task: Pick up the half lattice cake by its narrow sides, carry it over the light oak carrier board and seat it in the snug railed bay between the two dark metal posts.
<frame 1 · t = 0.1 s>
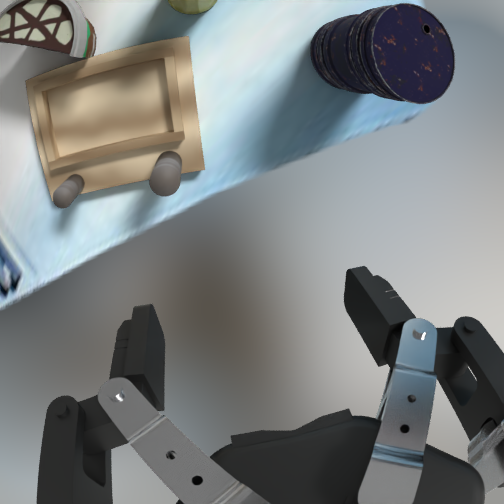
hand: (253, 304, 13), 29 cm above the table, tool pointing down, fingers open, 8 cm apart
carrier board: (113, 117, 34), on the table
storage jar: (345, 54, 34), on the table
half lattice cake: (70, 27, 27), on the table
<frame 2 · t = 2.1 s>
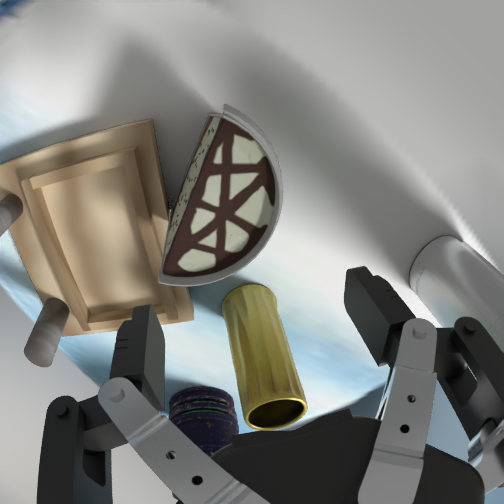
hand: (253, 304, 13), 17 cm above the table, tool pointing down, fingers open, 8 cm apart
carrier board: (94, 239, 29), on the table
storage jar: (201, 403, 45), on the table
vase: (248, 304, 36), on the table
half lattice cake: (221, 174, 28), on the table
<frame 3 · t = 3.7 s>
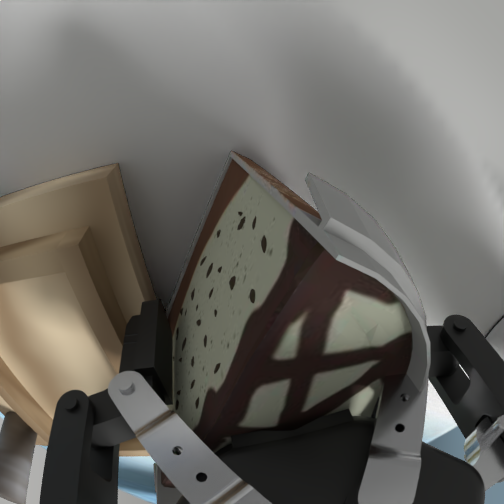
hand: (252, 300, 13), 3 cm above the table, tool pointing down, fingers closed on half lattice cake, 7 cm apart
carrier board: (52, 349, 17), on the table
half lattice cake: (251, 260, 16), on the table, touching gripper
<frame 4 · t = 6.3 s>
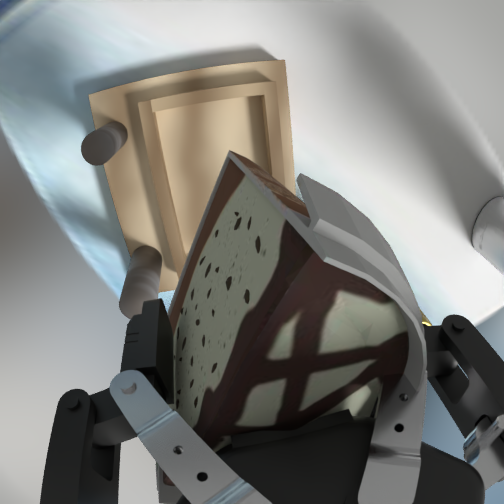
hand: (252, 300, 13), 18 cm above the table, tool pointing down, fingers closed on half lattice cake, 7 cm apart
carrier board: (202, 180, 29), on the table
half lattice cake: (251, 258, 16), point 15 cm above the table, touching gripper
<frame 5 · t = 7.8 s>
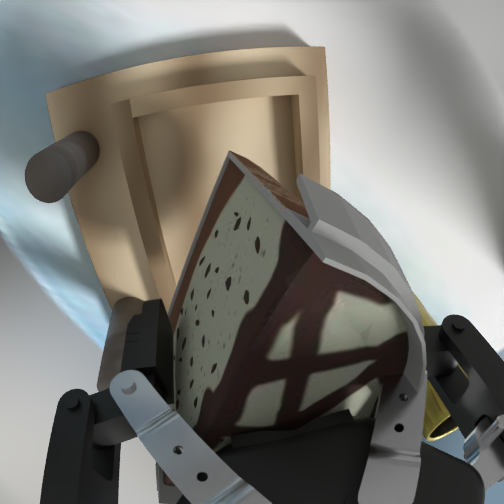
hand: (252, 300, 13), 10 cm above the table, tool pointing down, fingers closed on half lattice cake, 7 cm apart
carrier board: (204, 210, 22), on the table
vase: (376, 296, 29), on the table
half lattice cake: (251, 259, 16), point 7 cm above the table, touching gripper
when the fingers open (7 cm above the table, at t = 9.1 s): half lattice cake stays where it is, resting on carrier board.
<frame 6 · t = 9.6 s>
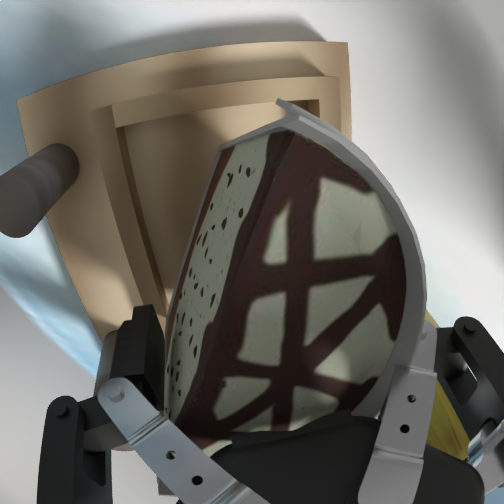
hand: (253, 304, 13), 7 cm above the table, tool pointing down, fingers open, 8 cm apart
carrier board: (204, 232, 19), on the table
vase: (390, 318, 26), on the table
half lattice cake: (247, 253, 17), point 3 cm above the table, touching carrier board, gripper
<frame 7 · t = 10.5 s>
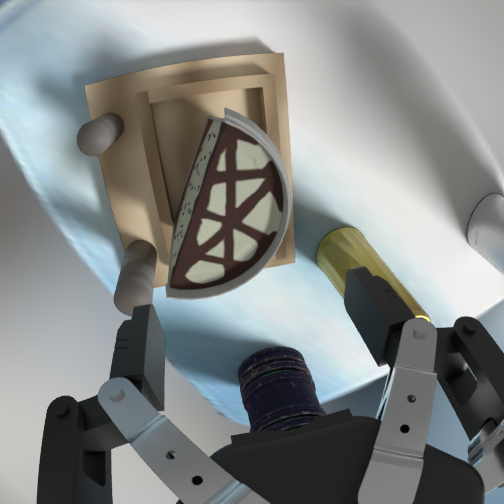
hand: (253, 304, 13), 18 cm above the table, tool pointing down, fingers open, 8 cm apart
carrier board: (198, 173, 28), on the table
storage jar: (271, 368, 44), on the table
vase: (340, 249, 36), on the table
half lattice cake: (224, 177, 27), point 2 cm above the table, touching carrier board
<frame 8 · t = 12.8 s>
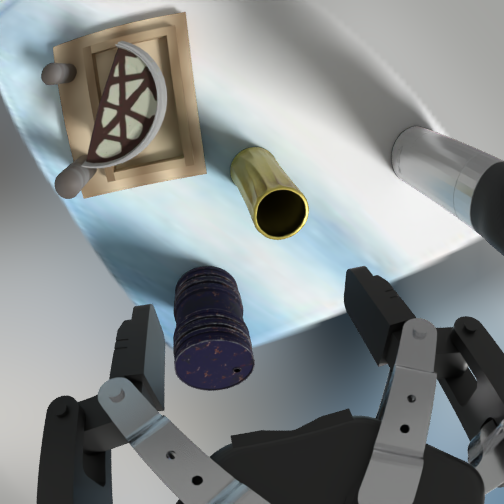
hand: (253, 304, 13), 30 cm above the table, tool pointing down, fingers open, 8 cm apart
carrier board: (129, 104, 34), on the table
storage jar: (206, 291, 50), on the table
vase: (253, 169, 41), on the table
half lattice cake: (144, 103, 33), point 2 cm above the table, touching carrier board
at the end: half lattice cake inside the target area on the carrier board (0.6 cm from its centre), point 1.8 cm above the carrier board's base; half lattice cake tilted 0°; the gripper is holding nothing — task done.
